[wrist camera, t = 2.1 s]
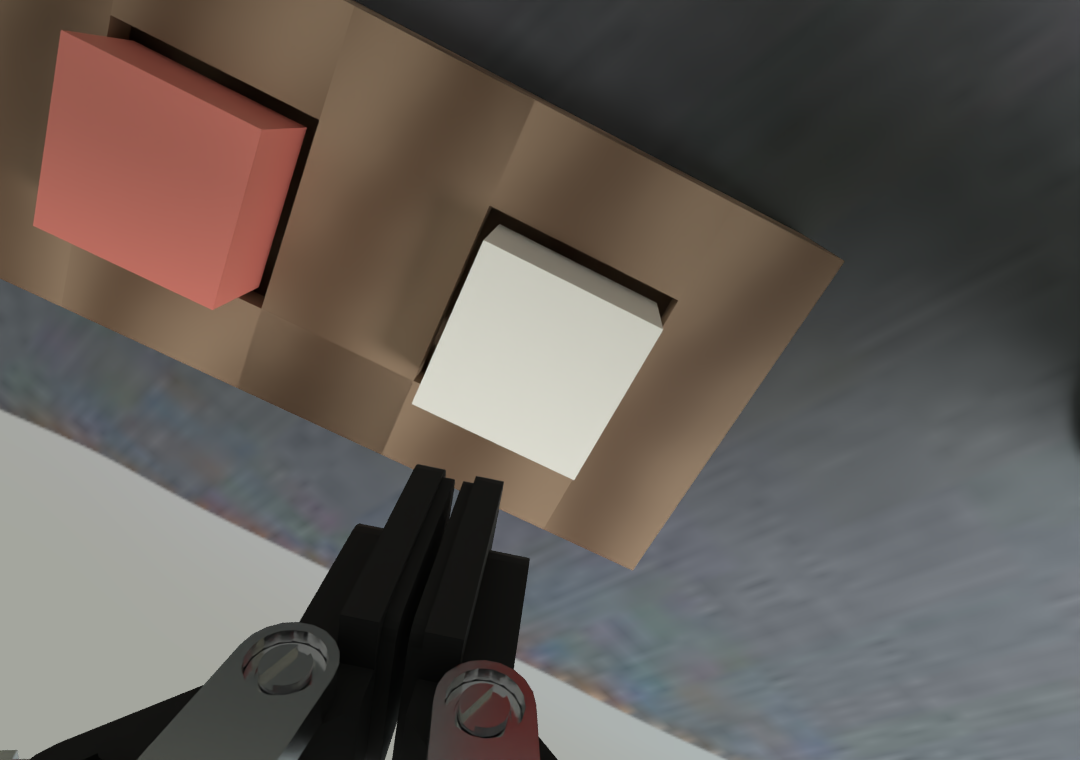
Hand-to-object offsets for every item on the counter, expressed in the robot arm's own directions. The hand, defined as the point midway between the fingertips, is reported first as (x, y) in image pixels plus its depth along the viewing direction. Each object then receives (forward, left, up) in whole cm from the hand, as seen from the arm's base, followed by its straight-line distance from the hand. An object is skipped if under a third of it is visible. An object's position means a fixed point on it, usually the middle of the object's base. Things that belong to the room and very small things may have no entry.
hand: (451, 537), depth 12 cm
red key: (+13, 0, -12) cm, 17 cm away
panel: (+6, 0, -17) cm, 18 cm away
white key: (0, 0, -12) cm, 12 cm away
